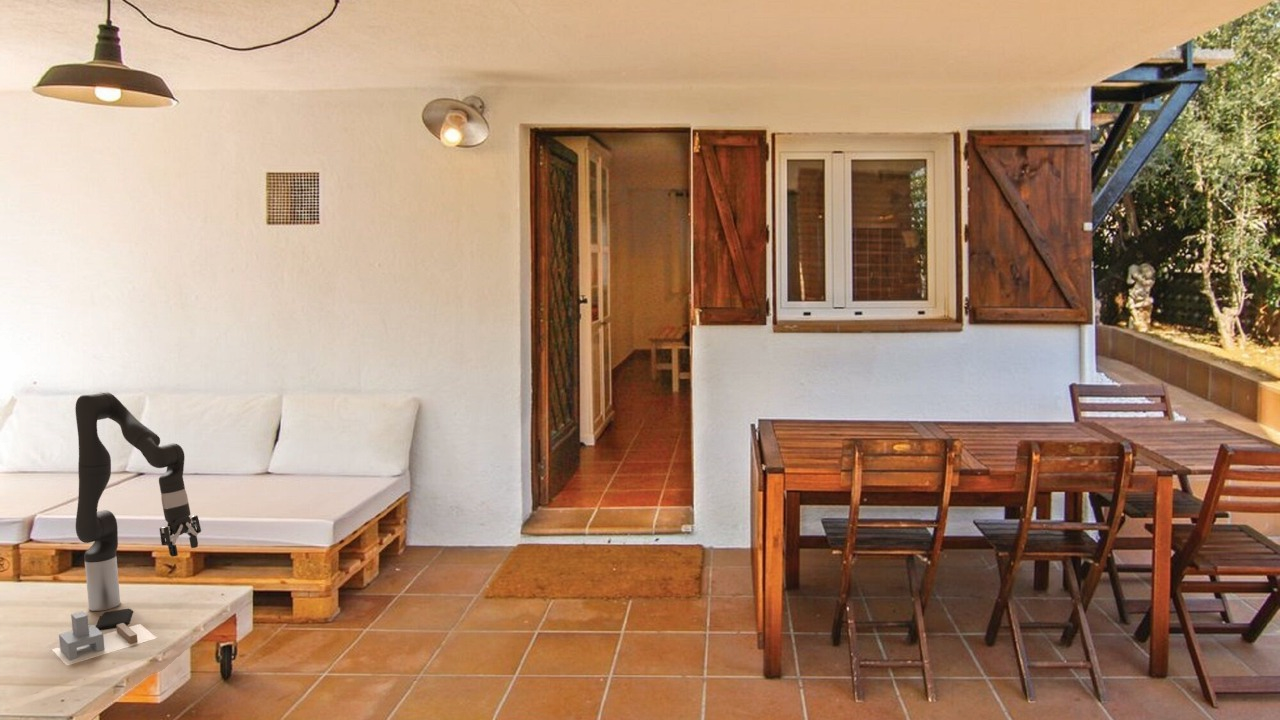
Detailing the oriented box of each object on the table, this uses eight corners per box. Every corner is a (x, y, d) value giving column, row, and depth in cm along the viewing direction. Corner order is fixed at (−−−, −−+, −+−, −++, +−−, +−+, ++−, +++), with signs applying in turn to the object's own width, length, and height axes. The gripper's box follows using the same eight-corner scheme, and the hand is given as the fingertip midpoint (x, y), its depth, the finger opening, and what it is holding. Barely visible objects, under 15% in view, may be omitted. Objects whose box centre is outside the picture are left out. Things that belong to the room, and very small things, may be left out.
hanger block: (60, 650, 253) (57, 615, 252) (94, 640, 259) (91, 605, 258) (69, 660, 246) (66, 624, 245) (104, 650, 253) (101, 614, 252)
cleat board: (52, 654, 254) (51, 641, 254) (140, 628, 272) (139, 616, 271) (66, 670, 243) (65, 657, 243) (157, 642, 261) (156, 630, 260)
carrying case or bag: (97, 620, 279) (90, 638, 266) (96, 611, 279) (89, 628, 265) (134, 614, 284) (129, 631, 270) (134, 606, 283) (129, 622, 270)
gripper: (183, 499, 284) (192, 545, 286) (148, 511, 271) (158, 559, 272) (201, 497, 282) (209, 544, 284) (167, 509, 269) (176, 558, 270)
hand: (184, 551), depth 278 cm, fingers open, 8 cm apart
